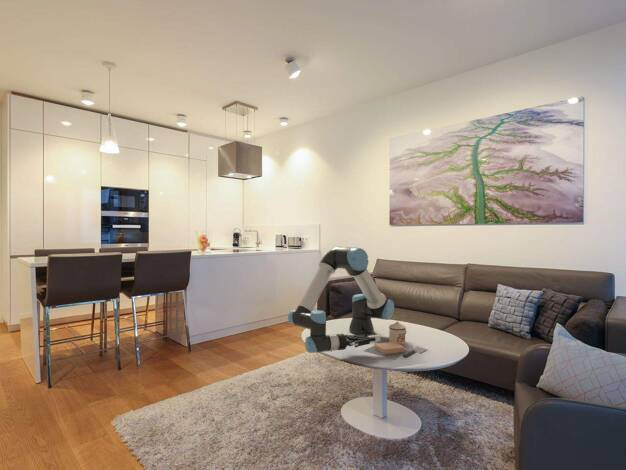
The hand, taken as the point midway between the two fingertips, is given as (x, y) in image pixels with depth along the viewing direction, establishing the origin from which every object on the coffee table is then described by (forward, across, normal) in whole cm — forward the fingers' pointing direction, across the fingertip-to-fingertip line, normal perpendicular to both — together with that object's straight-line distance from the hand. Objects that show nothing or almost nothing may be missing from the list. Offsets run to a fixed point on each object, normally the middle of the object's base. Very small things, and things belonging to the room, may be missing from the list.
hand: (379, 337), depth 177 cm
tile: (0, 0, -6) cm, 6 cm away
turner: (+18, +4, -8) cm, 20 cm away
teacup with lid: (+19, -13, -8) cm, 24 cm away
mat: (+4, 0, -8) cm, 9 cm away
